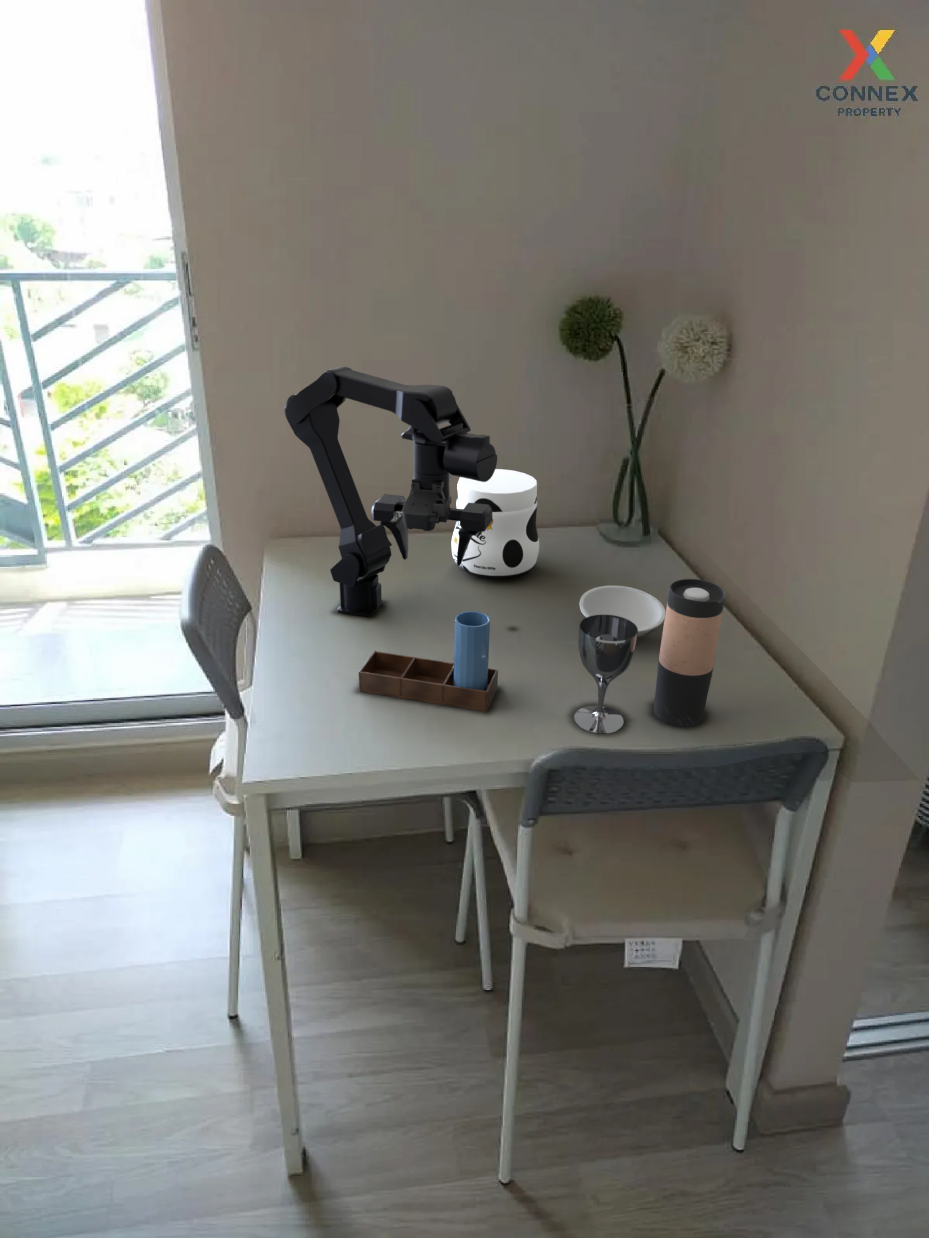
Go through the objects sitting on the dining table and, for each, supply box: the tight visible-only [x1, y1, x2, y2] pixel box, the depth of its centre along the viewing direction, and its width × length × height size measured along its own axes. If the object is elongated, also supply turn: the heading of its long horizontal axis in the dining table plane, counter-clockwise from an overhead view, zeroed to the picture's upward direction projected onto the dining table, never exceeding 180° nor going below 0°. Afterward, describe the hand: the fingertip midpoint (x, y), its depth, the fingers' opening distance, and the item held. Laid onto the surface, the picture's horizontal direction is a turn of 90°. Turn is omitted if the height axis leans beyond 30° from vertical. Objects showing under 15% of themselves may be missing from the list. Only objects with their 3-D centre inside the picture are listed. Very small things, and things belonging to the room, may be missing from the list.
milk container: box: [450, 468, 540, 579], centre depth 171 cm, size 17×17×18 cm
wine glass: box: [573, 615, 639, 734], centre depth 123 cm, size 8×8×15 cm
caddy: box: [358, 650, 499, 713], centre depth 132 cm, size 20×7×3 cm, turn 75°
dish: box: [578, 585, 666, 638], centre depth 149 cm, size 18×14×5 cm
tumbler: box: [453, 610, 491, 691], centre depth 128 cm, size 5×5×12 cm
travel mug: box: [653, 578, 726, 727], centre depth 124 cm, size 8×8×20 cm
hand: (432, 561), depth 144 cm, fingers open, 9 cm apart
